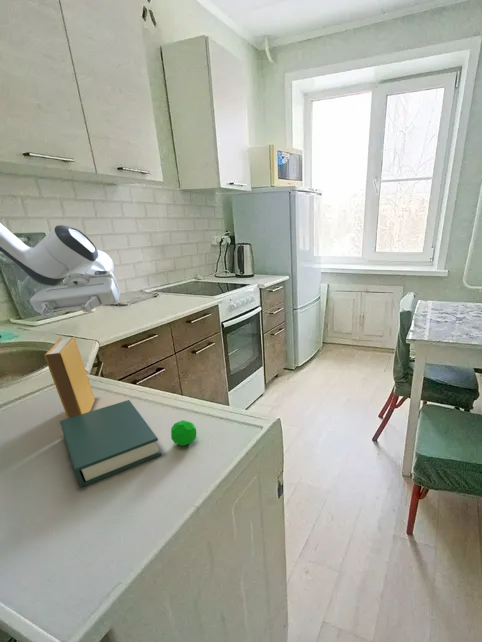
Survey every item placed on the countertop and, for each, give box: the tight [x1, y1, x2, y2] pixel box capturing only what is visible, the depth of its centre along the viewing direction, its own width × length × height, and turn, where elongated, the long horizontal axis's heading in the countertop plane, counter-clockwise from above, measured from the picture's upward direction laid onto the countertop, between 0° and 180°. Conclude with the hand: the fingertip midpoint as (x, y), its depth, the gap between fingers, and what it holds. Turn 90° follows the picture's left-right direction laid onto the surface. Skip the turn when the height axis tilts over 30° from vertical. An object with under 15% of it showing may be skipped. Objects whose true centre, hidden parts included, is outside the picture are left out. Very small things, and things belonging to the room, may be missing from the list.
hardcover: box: [59, 399, 162, 488], centre depth 71 cm, size 20×14×4 cm
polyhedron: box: [170, 419, 197, 447], centre depth 70 cm, size 5×5×5 cm
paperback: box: [43, 336, 96, 419], centre depth 81 cm, size 12×3×17 cm, turn 17°
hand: (65, 312), depth 83 cm, fingers open, 8 cm apart
